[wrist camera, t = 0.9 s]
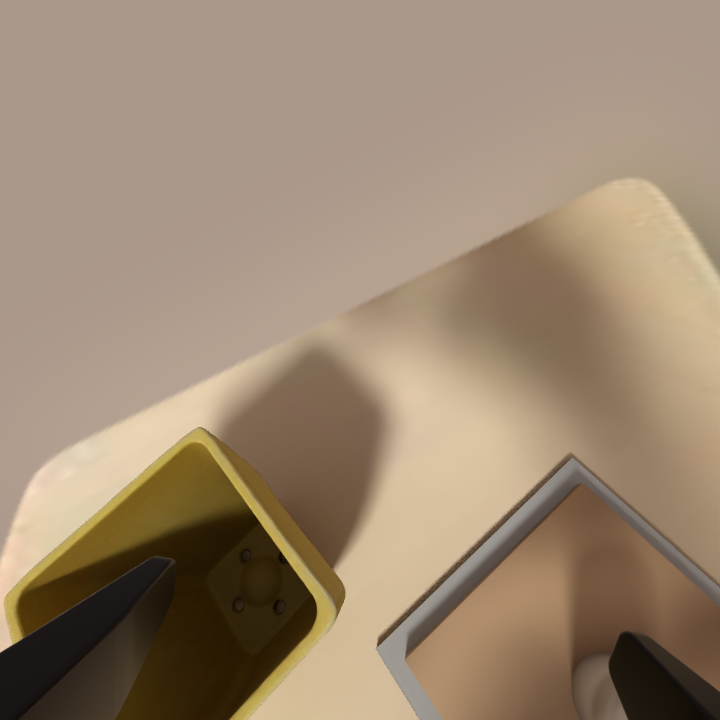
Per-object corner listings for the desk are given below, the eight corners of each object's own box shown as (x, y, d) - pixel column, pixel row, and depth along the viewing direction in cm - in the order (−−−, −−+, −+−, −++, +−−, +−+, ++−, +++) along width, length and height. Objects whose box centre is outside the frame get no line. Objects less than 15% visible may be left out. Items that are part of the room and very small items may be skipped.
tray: (896, 748, 13) (906, 752, 13) (660, 1104, 11) (666, 1118, 11) (570, 458, 19) (572, 457, 19) (376, 647, 17) (375, 649, 17)
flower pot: (279, 461, 22) (198, 419, 14) (378, 580, 18) (342, 614, 10) (164, 573, 20) (-4, 597, 12) (247, 730, 17) (84, 909, 9)
